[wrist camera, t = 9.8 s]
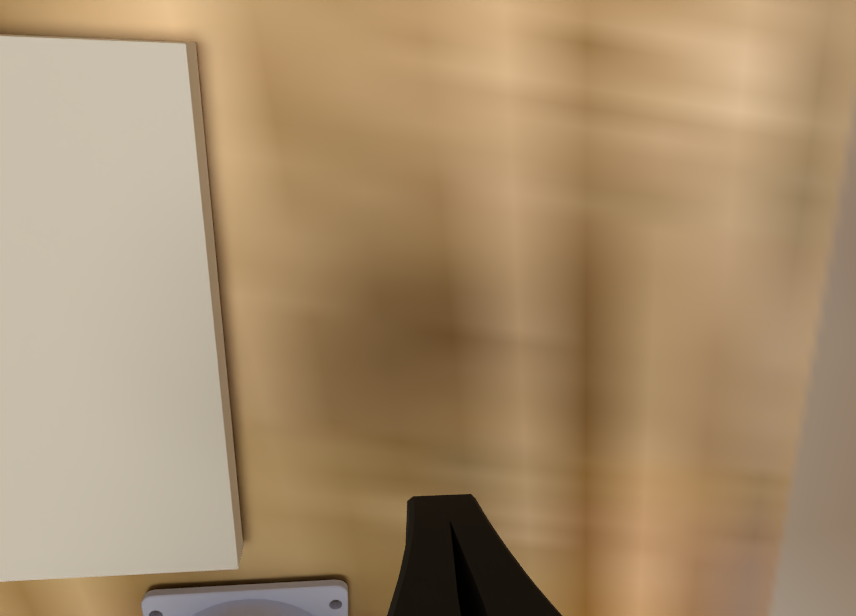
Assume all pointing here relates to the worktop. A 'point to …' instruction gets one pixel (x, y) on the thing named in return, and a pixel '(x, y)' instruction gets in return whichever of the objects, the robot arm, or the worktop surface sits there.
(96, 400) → the board
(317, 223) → the worktop surface
